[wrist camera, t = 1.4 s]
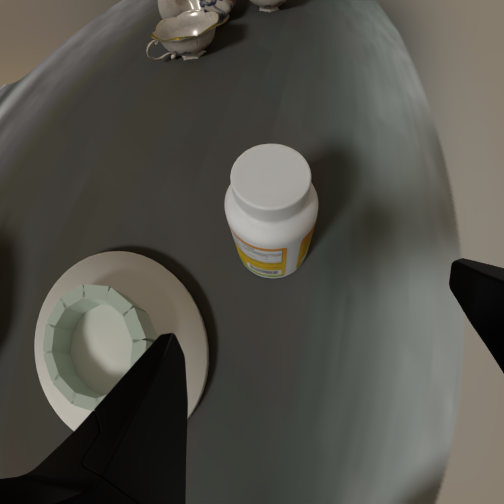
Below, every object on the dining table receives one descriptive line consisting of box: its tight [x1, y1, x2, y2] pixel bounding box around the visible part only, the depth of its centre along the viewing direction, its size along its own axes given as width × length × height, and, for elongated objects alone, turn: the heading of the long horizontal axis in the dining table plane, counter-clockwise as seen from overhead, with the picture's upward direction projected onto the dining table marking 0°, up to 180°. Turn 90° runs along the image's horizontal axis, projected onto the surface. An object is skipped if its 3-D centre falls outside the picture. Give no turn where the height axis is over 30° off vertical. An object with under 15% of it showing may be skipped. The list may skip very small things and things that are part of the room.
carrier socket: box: [35, 251, 209, 431], centre depth 20 cm, size 16×16×4 cm
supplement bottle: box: [225, 144, 318, 278], centre depth 19 cm, size 5×5×10 cm
